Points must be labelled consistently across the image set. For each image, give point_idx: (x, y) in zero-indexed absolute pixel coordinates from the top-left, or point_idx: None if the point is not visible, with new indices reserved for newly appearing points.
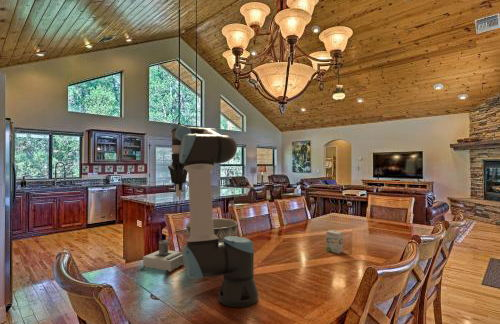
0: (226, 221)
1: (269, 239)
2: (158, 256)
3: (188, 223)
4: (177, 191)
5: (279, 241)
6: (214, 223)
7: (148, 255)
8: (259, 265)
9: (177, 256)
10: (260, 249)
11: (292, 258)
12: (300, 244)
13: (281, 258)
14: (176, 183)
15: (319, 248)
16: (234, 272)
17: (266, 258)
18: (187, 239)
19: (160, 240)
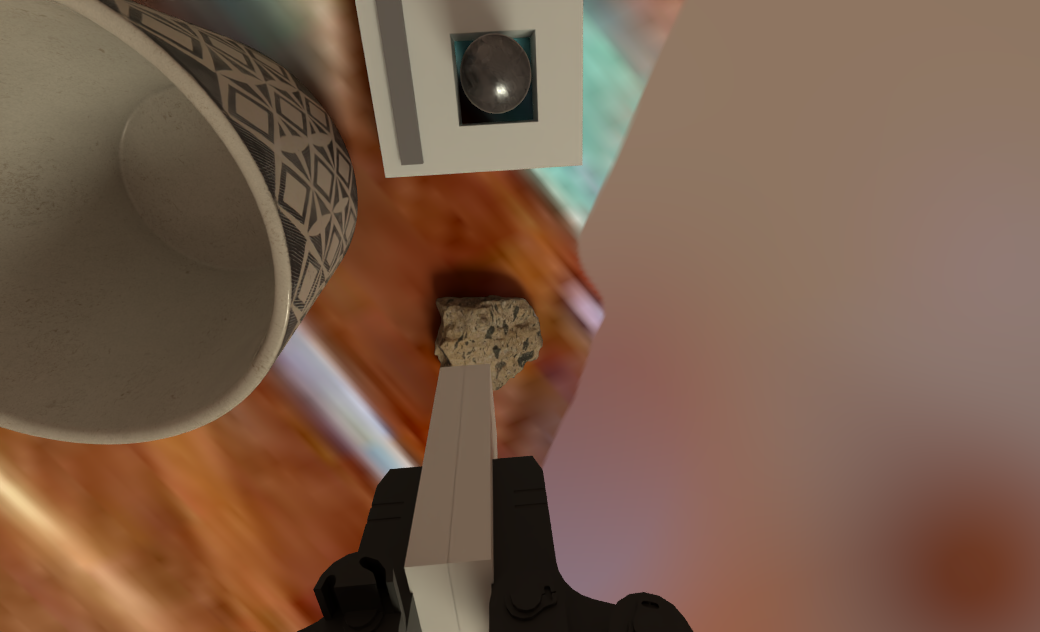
0: (99, 418)
1: (294, 601)
2: (494, 25)
3: (218, 134)
4: (448, 422)
5: (236, 596)
6: (214, 384)
7: (569, 11)
8: None
9: (385, 85)
10: (226, 481)
11: (9, 439)
12: (130, 597)
13: None
14: (494, 604)
15: (23, 586)
16: None
17: None
18: (217, 51)
19: (529, 76)
